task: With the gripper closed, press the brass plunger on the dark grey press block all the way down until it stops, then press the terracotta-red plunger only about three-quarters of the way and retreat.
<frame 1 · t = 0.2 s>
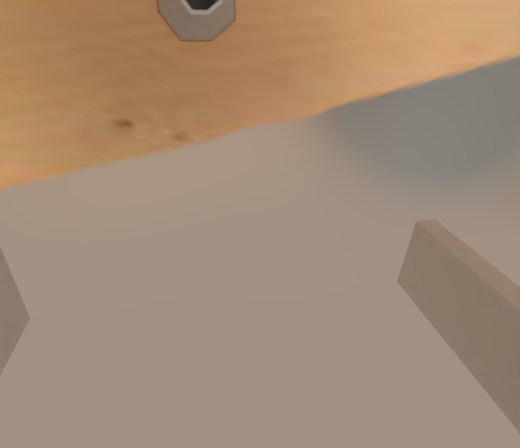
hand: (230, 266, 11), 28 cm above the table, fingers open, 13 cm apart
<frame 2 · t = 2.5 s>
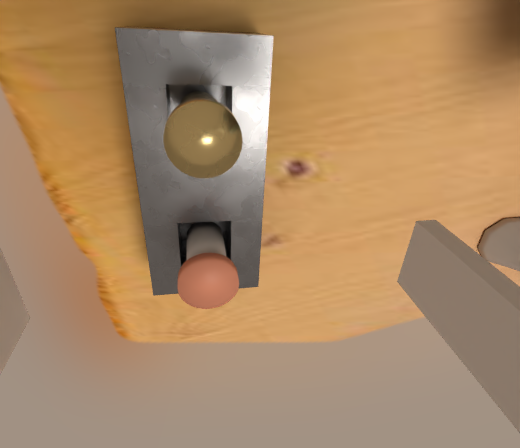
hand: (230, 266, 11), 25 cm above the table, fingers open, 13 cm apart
brass plunger: (201, 126, 25), point 8 cm above the table, slide at 0.0 cm
red plunger: (206, 258, 31), point 8 cm above the table, slide at 0.0 cm
flask: (499, 237, 49), on the table
press block: (201, 163, 35), on the table
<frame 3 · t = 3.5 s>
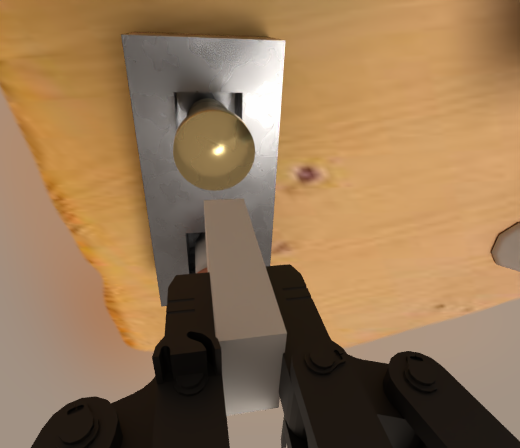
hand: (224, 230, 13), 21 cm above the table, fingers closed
brass plunger: (211, 135, 24), point 8 cm above the table, slide at 0.0 cm
red plunger: (216, 269, 30), point 8 cm above the table, slide at 0.0 cm
flask: (513, 241, 48), on the table
press block: (208, 170, 34), on the table
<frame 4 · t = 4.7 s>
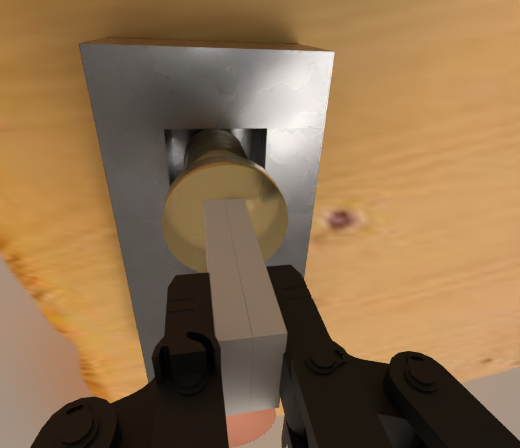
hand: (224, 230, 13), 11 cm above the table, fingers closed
brass plunger: (219, 186, 17), point 7 cm above the table, slide at 1.1 cm, touching gripper
red plunger: (225, 363, 22), point 8 cm above the table, slide at 0.0 cm
press block: (214, 219, 26), on the table
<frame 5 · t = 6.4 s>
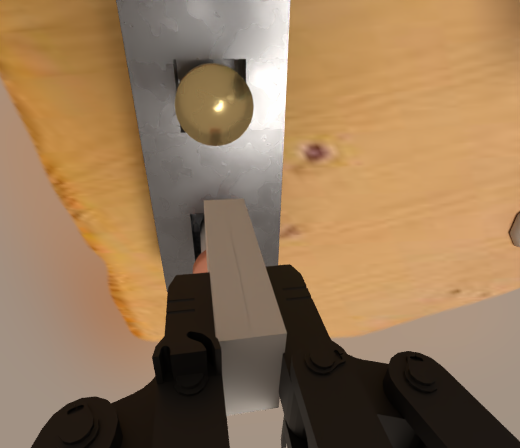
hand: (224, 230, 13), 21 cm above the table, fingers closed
brass plunger: (211, 96, 25), point 6 cm above the table, slide at 2.7 cm
red plunger: (222, 250, 29), point 8 cm above the table, slide at 0.0 cm
press block: (212, 150, 33), on the table
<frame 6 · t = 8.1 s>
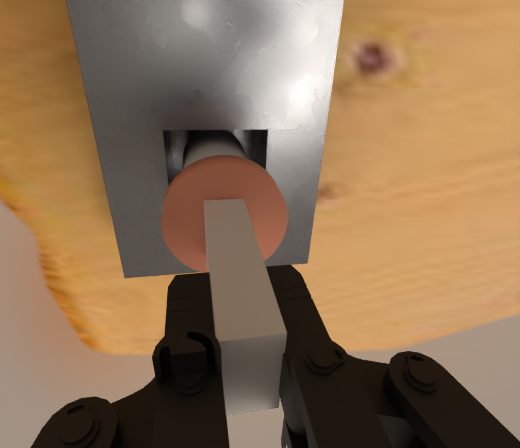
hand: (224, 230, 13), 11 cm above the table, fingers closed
red plunger: (219, 185, 17), point 7 cm above the table, slide at 1.5 cm, touching gripper
press block: (207, 40, 19), on the table
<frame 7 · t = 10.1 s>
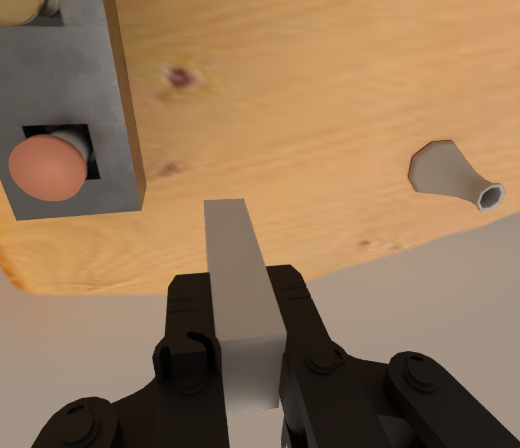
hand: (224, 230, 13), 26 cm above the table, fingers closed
red plunger: (62, 155, 29), point 6 cm above the table, slide at 2.0 cm
flask: (431, 165, 45), on the table
press block: (64, 70, 31), on the table
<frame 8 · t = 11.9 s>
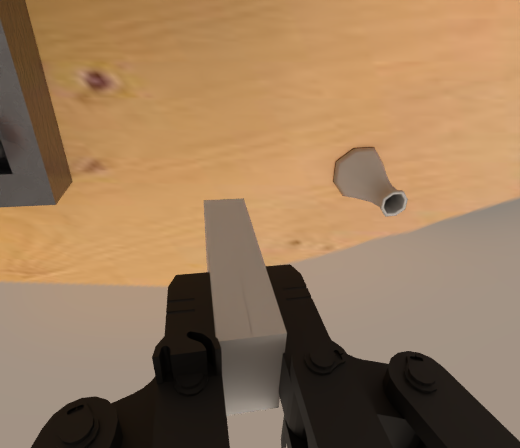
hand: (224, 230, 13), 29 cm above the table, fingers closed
flask: (356, 170, 47), on the table
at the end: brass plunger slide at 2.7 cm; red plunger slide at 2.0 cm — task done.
